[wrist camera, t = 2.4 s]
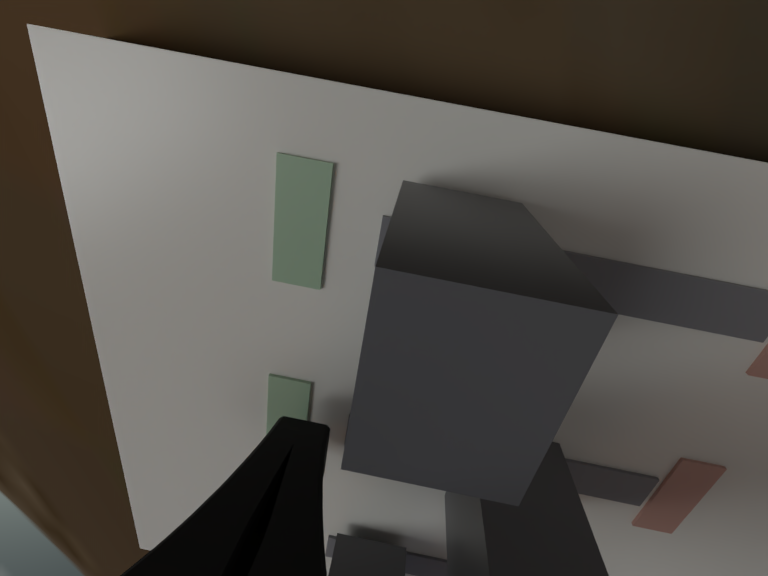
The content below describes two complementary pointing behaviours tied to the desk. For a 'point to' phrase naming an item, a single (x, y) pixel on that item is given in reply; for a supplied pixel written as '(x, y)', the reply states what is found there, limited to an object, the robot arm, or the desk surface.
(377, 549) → the block
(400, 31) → the desk surface
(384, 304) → the block
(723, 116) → the desk surface
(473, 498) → the block
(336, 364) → the breaker panel
